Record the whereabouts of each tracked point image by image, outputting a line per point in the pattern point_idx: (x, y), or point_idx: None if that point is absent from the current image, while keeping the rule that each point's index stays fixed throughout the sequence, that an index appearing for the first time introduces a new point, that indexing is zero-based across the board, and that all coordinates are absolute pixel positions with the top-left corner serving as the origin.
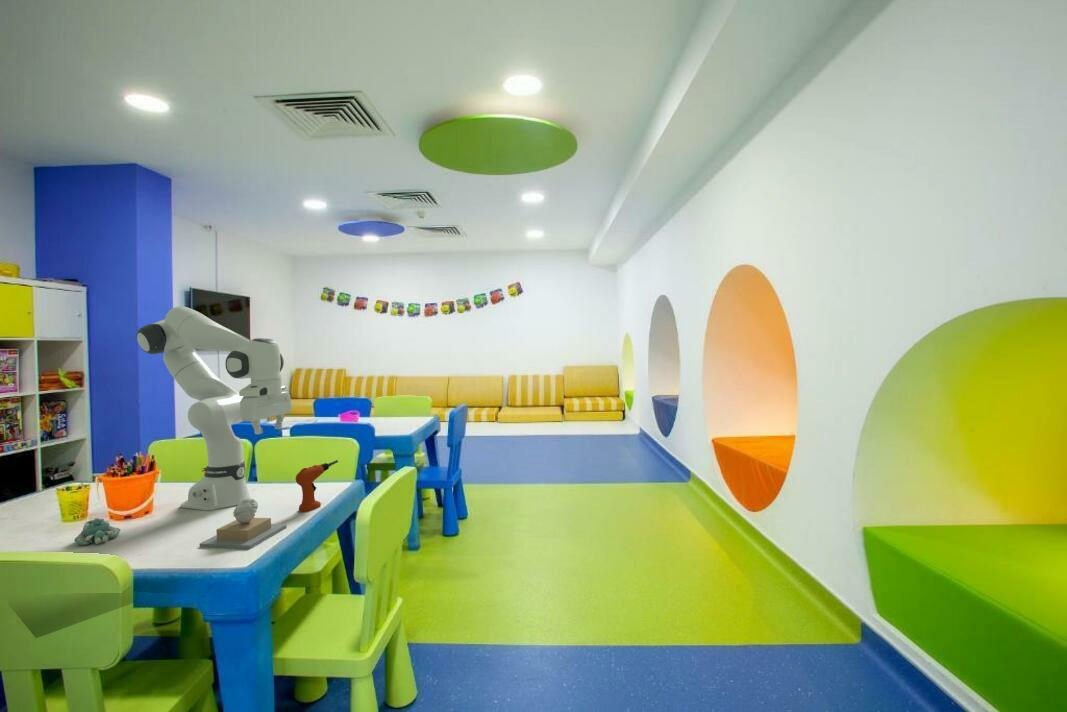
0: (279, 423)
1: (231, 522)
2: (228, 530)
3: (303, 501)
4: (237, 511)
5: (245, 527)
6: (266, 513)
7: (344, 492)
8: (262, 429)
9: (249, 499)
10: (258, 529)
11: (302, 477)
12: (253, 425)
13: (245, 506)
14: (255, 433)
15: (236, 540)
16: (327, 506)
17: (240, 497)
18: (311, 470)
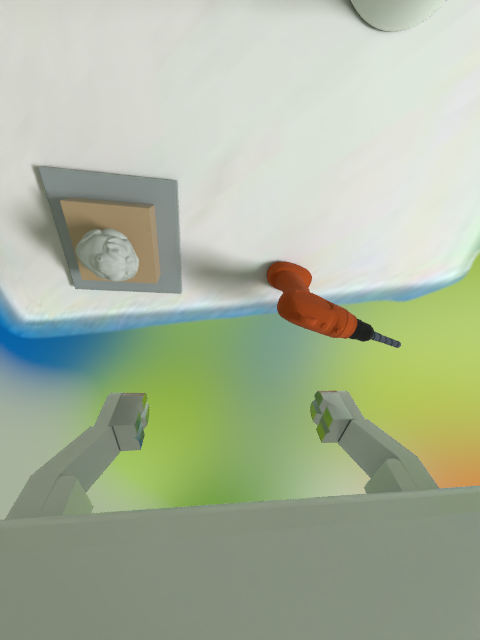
0: (327, 442)
1: (111, 206)
2: (70, 234)
3: (278, 280)
4: (77, 256)
5: None
6: (265, 191)
7: (381, 295)
8: (142, 438)
9: (108, 273)
10: None
11: (281, 316)
12: (56, 465)
13: (92, 271)
14: (110, 398)
15: None
16: None
17: (386, 6)
18: (311, 329)
